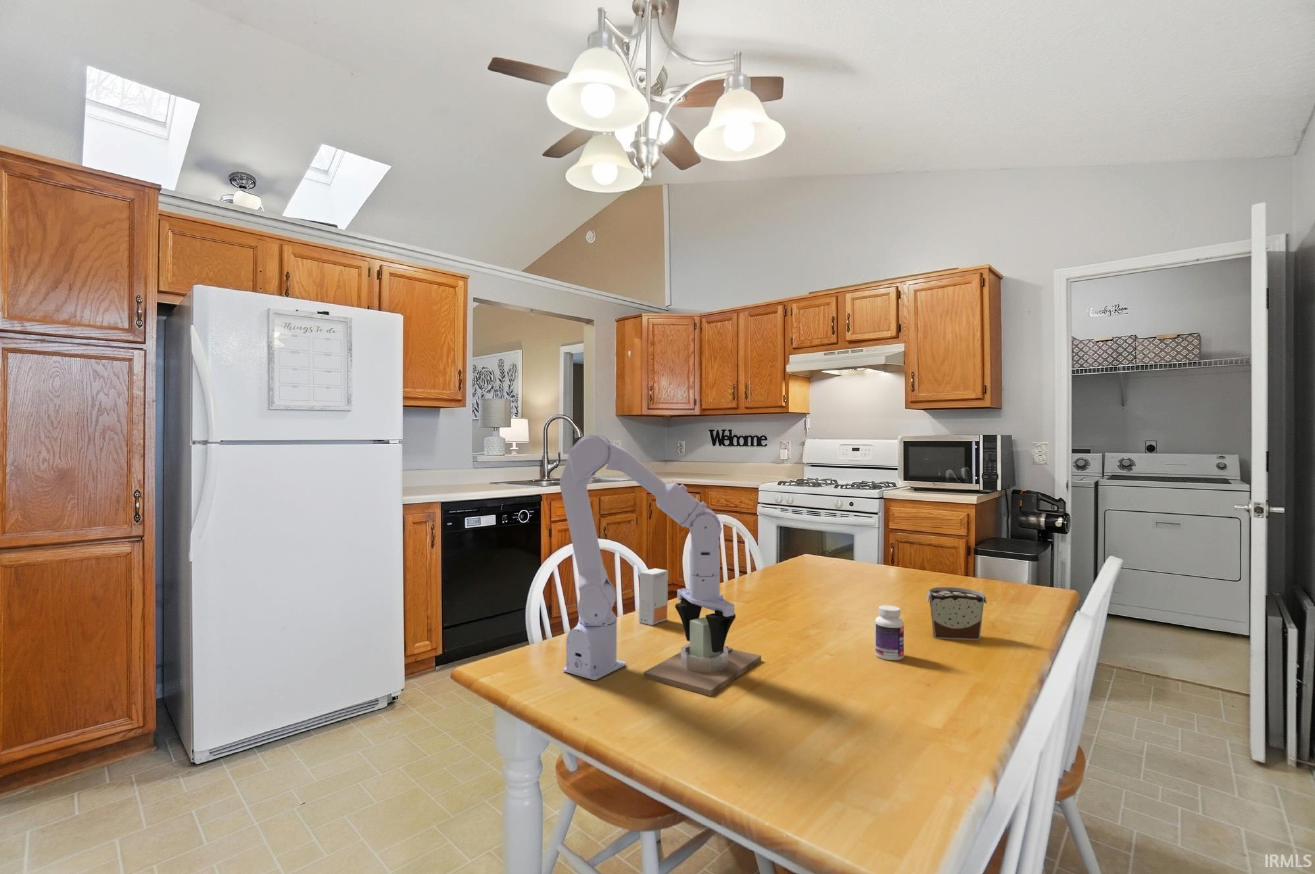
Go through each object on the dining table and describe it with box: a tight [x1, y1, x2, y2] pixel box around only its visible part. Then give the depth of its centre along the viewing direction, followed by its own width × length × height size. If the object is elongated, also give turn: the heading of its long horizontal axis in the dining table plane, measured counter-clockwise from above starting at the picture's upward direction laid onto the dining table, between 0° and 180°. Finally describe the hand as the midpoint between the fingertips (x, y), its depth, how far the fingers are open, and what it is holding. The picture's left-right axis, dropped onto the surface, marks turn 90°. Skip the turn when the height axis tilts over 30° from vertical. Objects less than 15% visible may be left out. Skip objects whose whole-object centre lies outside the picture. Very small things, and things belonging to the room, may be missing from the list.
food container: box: [926, 586, 987, 641], centre depth 135 cm, size 12×6×10 cm, turn 84°
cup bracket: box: [642, 643, 762, 697], centre depth 115 cm, size 20×14×4 cm
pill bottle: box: [874, 604, 905, 661], centre depth 122 cm, size 5×5×10 cm
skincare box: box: [638, 567, 669, 626], centre depth 145 cm, size 6×4×12 cm
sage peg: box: [689, 616, 720, 657], centre depth 115 cm, size 4×4×8 cm
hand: (704, 645), depth 115 cm, fingers open, 7 cm apart
